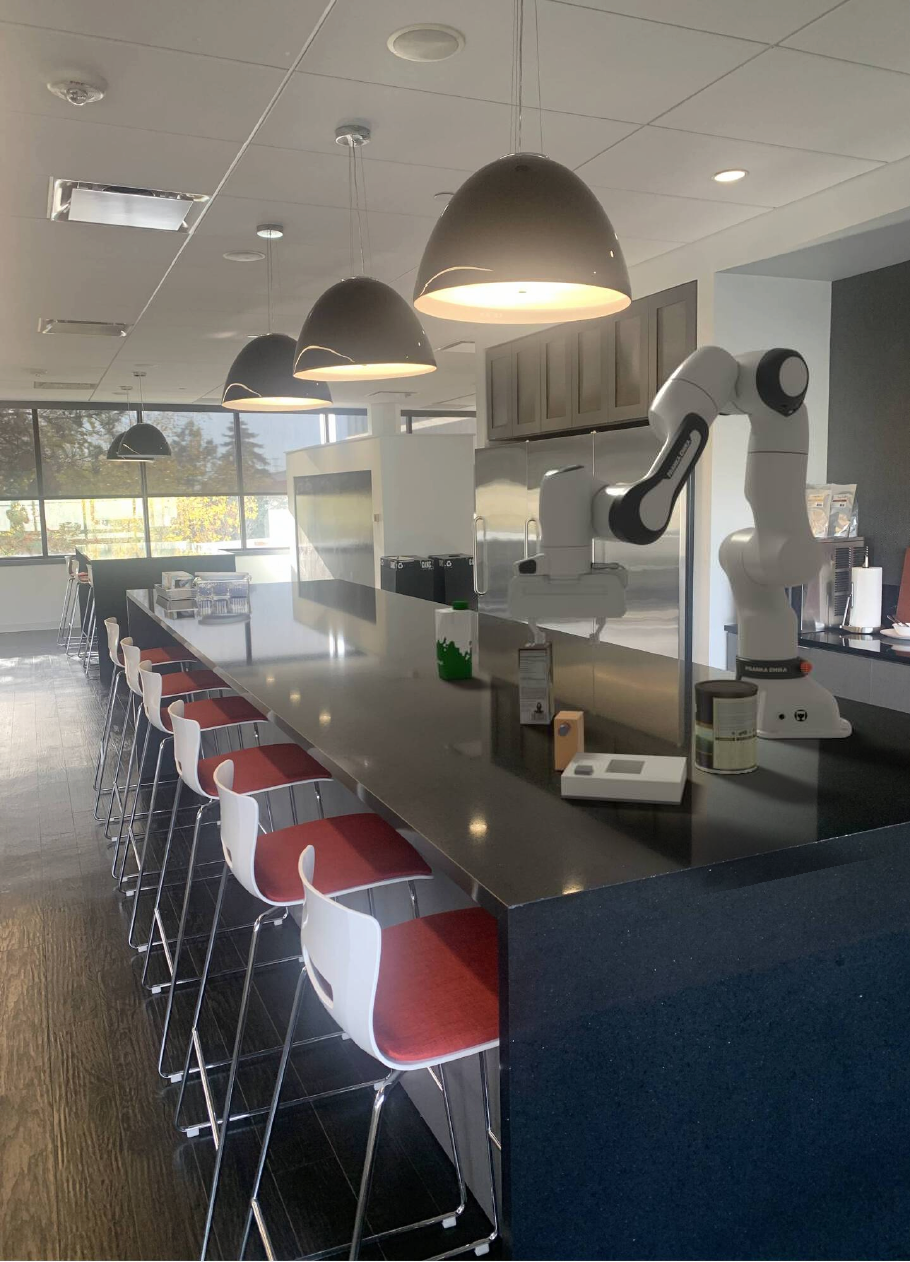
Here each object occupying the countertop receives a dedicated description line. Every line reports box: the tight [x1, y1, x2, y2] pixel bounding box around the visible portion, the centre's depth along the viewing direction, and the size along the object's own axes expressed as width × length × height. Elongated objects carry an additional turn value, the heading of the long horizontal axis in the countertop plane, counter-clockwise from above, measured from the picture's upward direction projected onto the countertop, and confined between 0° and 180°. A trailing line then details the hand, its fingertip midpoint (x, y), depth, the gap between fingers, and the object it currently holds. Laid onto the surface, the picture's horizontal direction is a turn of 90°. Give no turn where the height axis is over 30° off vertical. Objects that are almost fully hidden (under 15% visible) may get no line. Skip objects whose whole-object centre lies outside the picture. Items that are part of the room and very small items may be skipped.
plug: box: [553, 710, 585, 771], centre depth 162 cm, size 4×9×9 cm, turn 163°
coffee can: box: [694, 679, 758, 775], centre depth 159 cm, size 10×10×14 cm
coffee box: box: [517, 640, 555, 725], centre depth 198 cm, size 9×6×16 cm
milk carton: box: [434, 600, 473, 681], centre depth 249 cm, size 9×9×20 cm
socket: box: [560, 752, 687, 806], centre depth 151 cm, size 18×14×4 cm
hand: (567, 643), depth 162 cm, fingers open, 8 cm apart
